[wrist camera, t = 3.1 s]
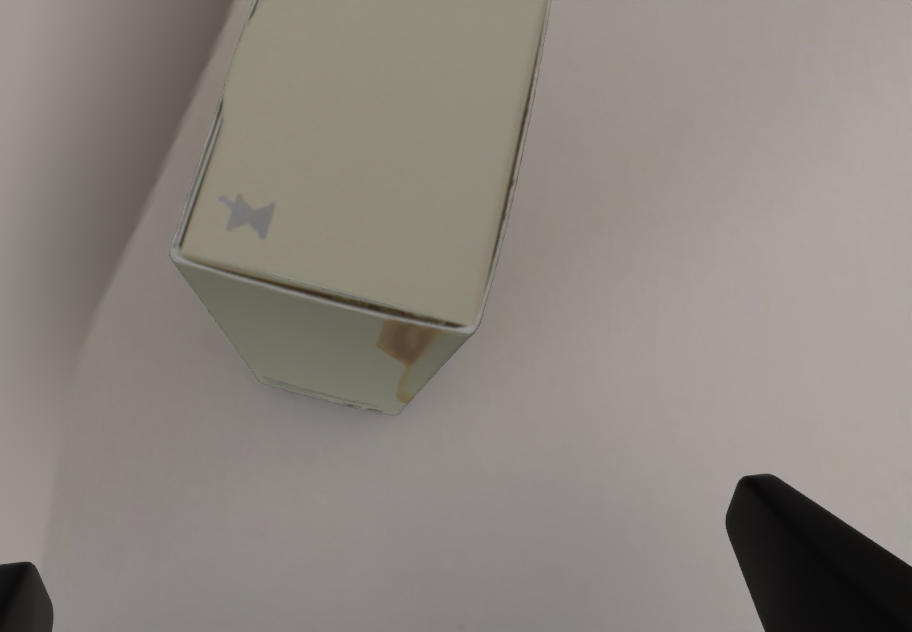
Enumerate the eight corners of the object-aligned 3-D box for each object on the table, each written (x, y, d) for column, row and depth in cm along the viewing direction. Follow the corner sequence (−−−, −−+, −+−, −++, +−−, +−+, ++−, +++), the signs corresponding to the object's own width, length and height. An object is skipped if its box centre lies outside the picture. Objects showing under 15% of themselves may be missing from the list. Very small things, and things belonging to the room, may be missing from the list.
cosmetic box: (400, 420, 22) (480, 366, 10) (254, 384, 21) (149, 281, 9) (449, 219, 23) (571, -41, 11) (313, 181, 23) (290, -132, 11)
